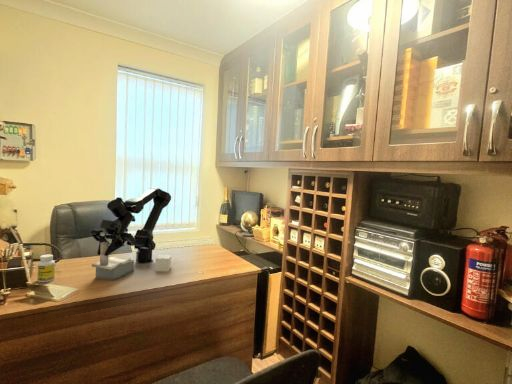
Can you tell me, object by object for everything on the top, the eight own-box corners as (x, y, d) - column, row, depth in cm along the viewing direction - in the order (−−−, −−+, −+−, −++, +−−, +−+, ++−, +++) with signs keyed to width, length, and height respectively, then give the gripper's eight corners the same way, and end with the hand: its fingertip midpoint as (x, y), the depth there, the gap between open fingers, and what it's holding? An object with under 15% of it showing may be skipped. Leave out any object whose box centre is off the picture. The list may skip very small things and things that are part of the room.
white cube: (155, 271, 126) (155, 258, 126) (157, 267, 132) (158, 254, 132) (168, 271, 127) (169, 258, 126) (170, 267, 133) (171, 254, 132)
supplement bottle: (35, 283, 106) (35, 258, 105) (39, 278, 111) (40, 254, 110) (52, 281, 108) (53, 257, 107) (56, 277, 113) (56, 253, 112)
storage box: (116, 268, 126) (116, 257, 126) (133, 271, 124) (133, 260, 124) (95, 277, 114) (95, 265, 114) (114, 280, 113) (114, 268, 112)
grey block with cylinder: (113, 258, 124) (113, 236, 123) (130, 260, 122) (131, 238, 121) (91, 266, 112) (92, 242, 112) (110, 269, 110) (111, 244, 110)
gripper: (93, 210, 117) (70, 241, 107) (132, 214, 113) (111, 247, 103) (107, 225, 125) (86, 256, 115) (143, 229, 121) (125, 261, 111)
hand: (101, 255), depth 111 cm, fingers closed on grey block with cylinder, 3 cm apart
